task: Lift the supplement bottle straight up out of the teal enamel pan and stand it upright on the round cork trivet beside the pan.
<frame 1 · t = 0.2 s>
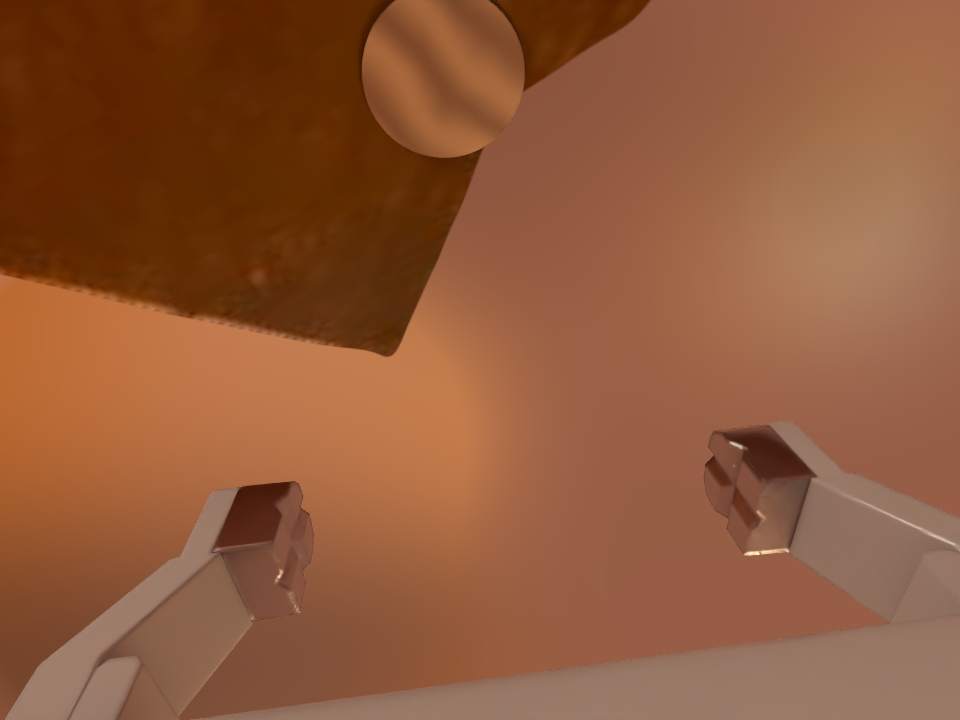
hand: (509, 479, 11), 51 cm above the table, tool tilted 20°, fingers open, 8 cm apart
trivet: (444, 78, 54), on the table
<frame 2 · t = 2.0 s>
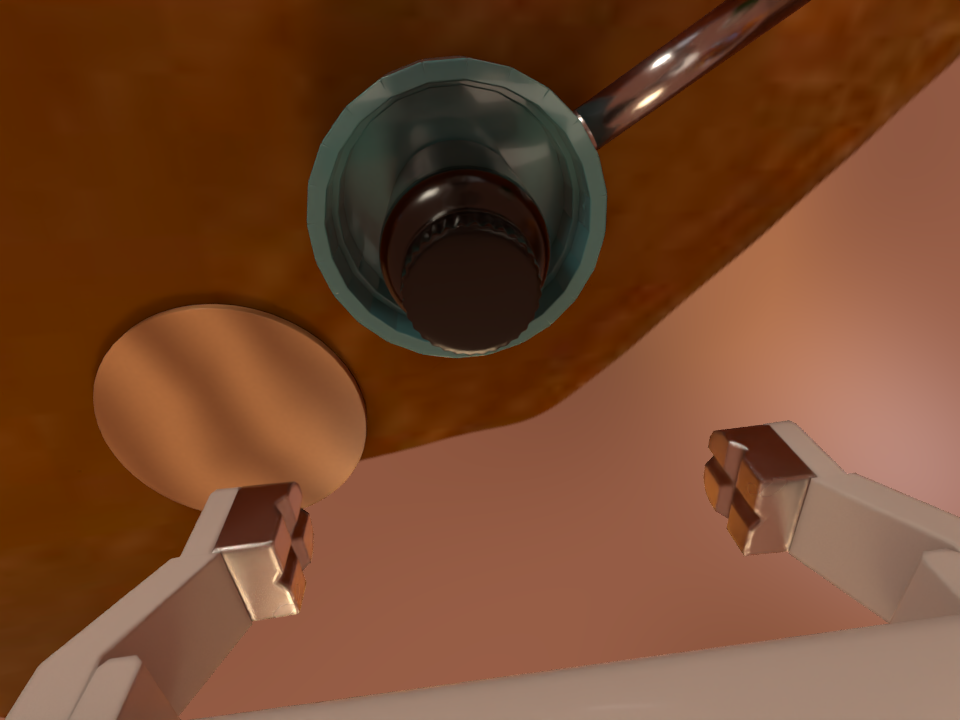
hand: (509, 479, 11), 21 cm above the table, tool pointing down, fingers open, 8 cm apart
pan: (455, 203, 29), on the table
trivet: (238, 419, 34), on the table
pan handle: (686, 58, 23), point 3 cm above the table
supplement bottle: (455, 204, 29), resting on pan
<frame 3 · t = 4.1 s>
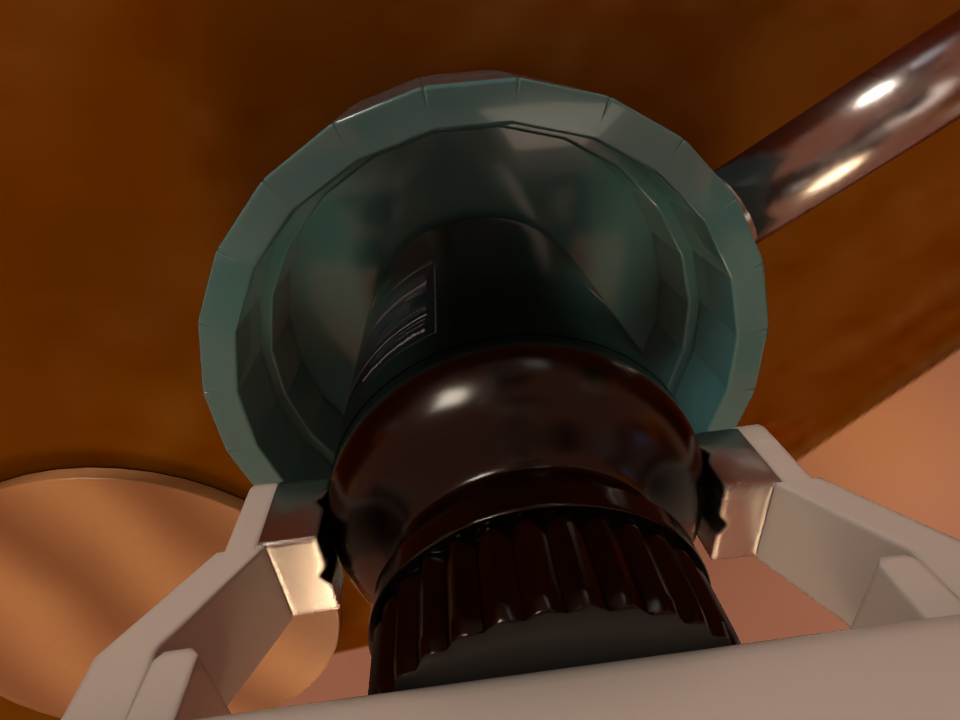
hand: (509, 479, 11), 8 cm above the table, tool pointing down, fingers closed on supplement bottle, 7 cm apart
pan: (478, 313, 17), on the table
trivet: (145, 614, 23), on the table
pan handle: (941, 75, 12), point 3 cm above the table
supplement bottle: (478, 315, 17), resting on pan, touching gripper
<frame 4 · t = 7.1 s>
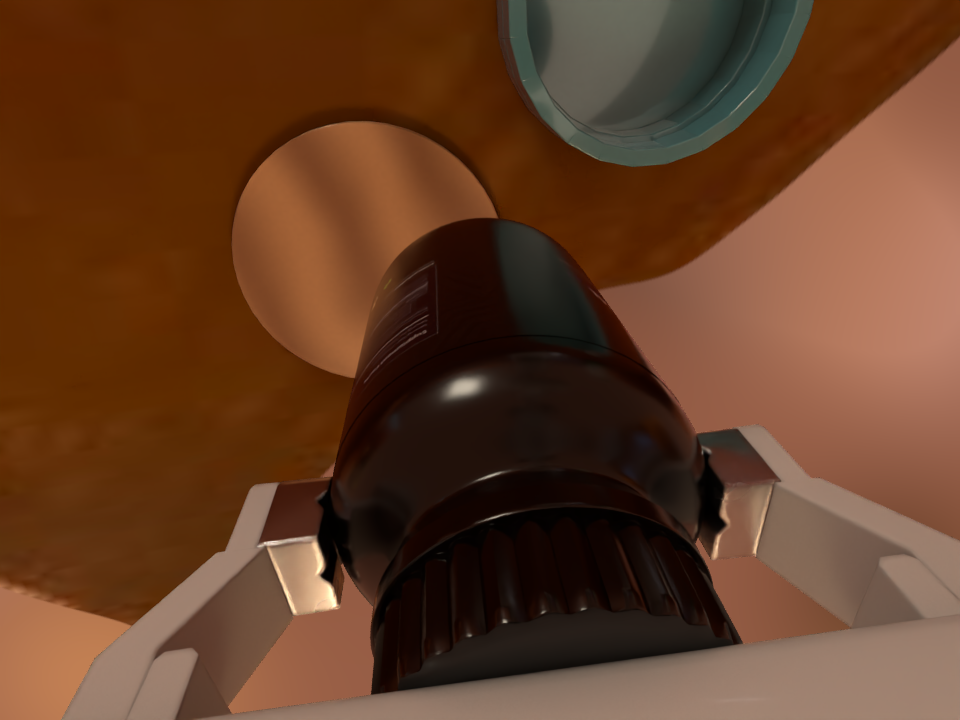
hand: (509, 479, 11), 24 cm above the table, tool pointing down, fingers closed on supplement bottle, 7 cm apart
pan: (630, 7, 27), on the table
trivet: (373, 263, 33), on the table
supplement bottle: (479, 315, 17), point 16 cm above the table, touching gripper
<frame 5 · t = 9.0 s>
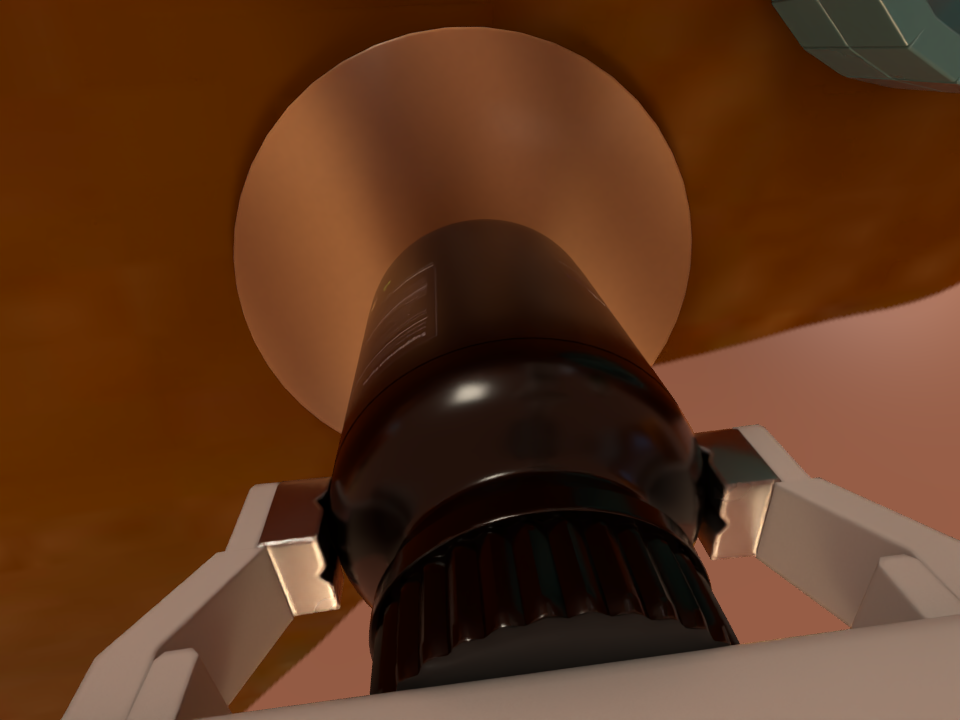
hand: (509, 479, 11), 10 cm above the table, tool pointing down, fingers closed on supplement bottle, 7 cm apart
trivet: (469, 284, 20), on the table
supplement bottle: (478, 317, 17), point 3 cm above the table, touching gripper
when the fingers open (8 cm above the table, at t = 10.4 s): supplement bottle stays where it is, resting on trivet.
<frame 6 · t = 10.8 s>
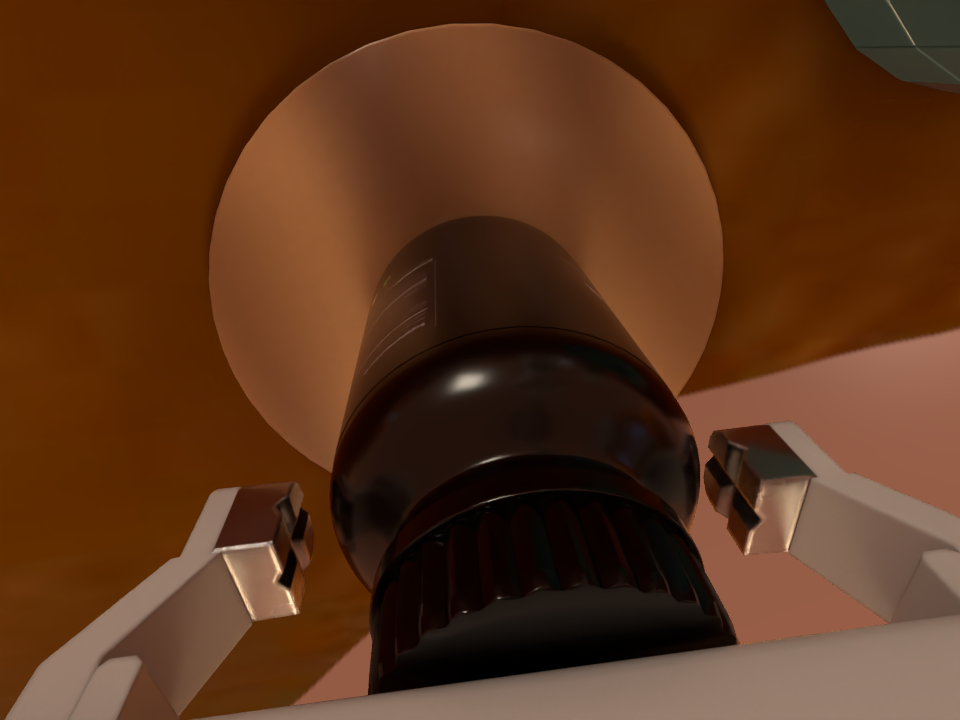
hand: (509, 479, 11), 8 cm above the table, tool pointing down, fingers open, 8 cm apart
trivet: (474, 311, 18), on the table
supplement bottle: (478, 313, 17), resting on trivet
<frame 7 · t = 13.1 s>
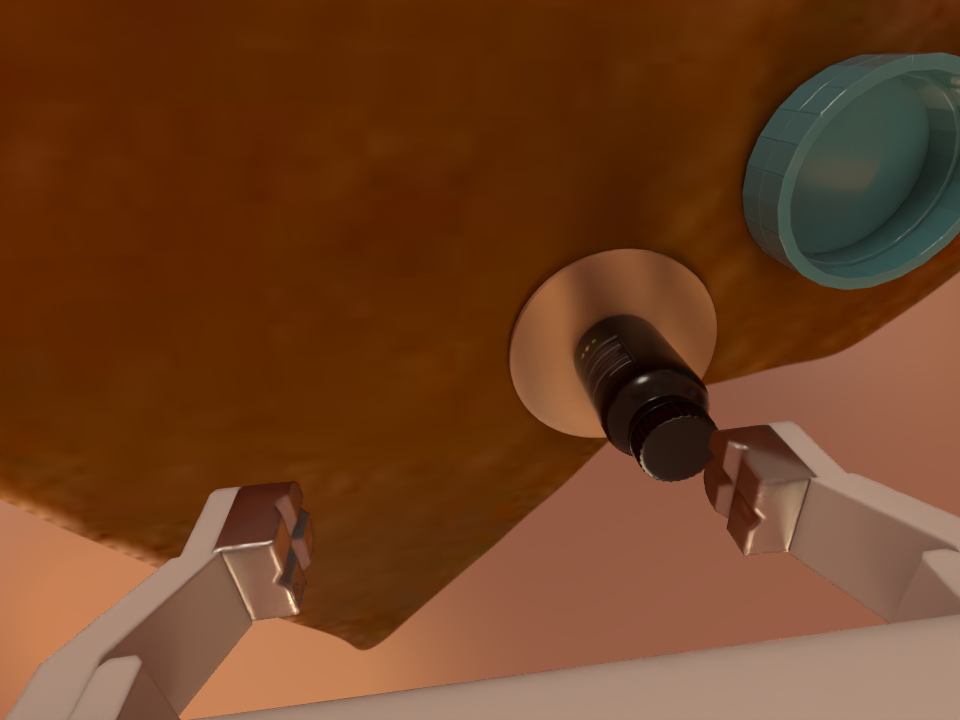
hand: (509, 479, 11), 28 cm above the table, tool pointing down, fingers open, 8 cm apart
pan: (839, 169, 37), on the table
trivet: (611, 349, 42), on the table
supplement bottle: (614, 350, 41), resting on trivet
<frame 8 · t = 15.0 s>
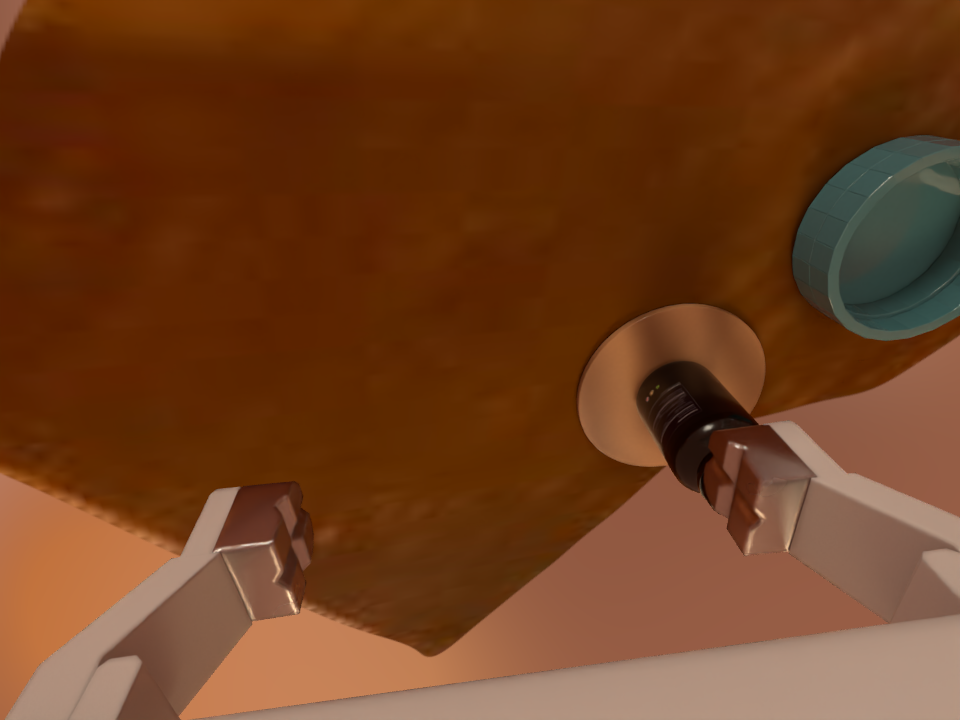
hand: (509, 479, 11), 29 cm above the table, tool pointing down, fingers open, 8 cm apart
pan: (879, 232, 41), on the table
trivet: (669, 389, 46), on the table
supplement bottle: (672, 391, 46), resting on trivet
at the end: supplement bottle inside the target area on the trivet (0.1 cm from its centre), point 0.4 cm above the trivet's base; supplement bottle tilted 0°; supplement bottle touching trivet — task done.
